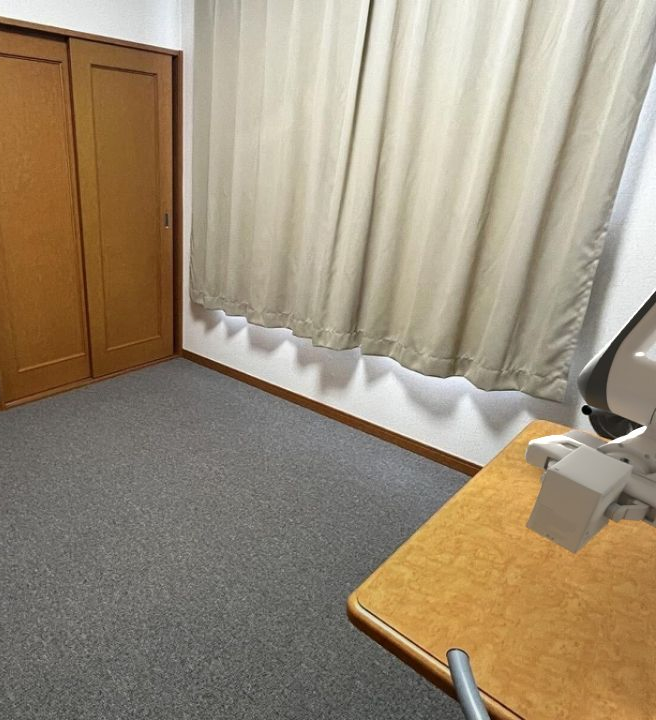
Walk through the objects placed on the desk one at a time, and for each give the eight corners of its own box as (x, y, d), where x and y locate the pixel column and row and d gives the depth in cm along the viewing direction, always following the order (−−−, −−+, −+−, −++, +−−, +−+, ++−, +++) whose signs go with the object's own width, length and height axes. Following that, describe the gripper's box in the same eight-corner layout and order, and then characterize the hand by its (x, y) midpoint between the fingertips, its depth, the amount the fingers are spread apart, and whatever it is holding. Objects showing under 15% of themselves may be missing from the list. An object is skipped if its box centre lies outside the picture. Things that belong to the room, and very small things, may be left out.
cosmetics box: (578, 557, 63) (603, 493, 59) (524, 527, 68) (544, 467, 64) (610, 525, 68) (636, 465, 64) (558, 500, 73) (579, 443, 69)
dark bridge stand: (616, 466, 90) (623, 448, 89) (582, 482, 86) (589, 464, 85) (569, 445, 97) (575, 428, 96) (536, 459, 93) (542, 442, 91)
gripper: (560, 419, 78) (506, 441, 73) (735, 490, 61) (681, 525, 56) (549, 451, 81) (497, 474, 75) (715, 528, 64) (661, 565, 58)
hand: (577, 497), depth 65 cm, fingers closed on cosmetics box, 6 cm apart
